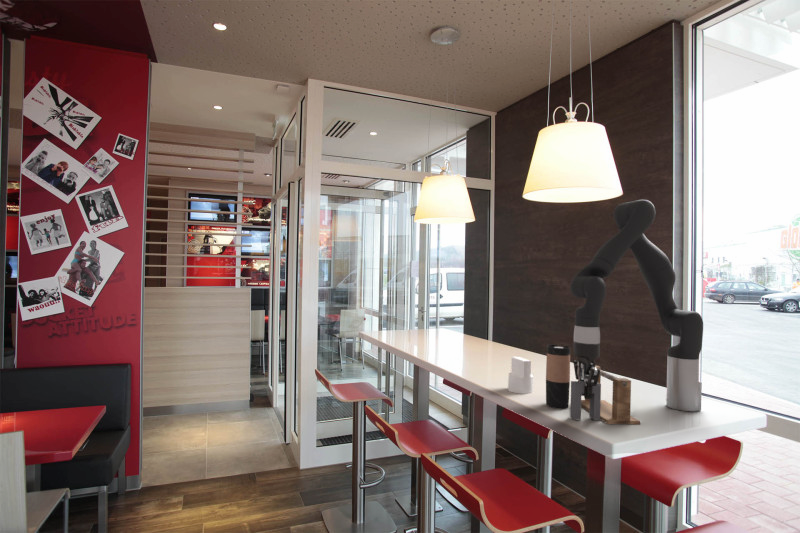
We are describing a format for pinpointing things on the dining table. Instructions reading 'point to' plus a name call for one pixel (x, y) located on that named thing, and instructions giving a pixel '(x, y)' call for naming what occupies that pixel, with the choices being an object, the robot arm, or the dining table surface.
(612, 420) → the rail
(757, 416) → the dining table surface
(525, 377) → the cylinder with rectangular tab
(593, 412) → the grey arch block
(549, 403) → the travel mug
